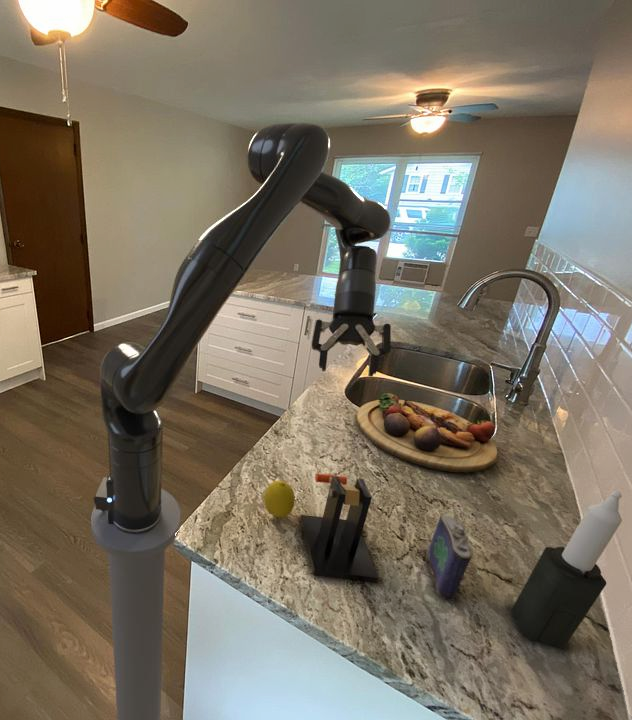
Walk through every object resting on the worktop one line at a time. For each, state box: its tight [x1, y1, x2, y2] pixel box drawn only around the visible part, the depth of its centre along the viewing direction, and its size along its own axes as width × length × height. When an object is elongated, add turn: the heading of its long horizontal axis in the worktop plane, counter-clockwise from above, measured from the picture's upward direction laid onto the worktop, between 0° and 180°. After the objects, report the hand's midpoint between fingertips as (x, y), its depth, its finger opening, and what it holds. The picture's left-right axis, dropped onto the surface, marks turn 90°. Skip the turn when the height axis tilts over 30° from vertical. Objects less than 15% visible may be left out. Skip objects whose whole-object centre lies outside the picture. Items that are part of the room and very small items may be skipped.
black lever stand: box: [300, 476, 379, 584], centre depth 65 cm, size 12×10×14 cm
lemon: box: [263, 480, 295, 518], centre depth 73 cm, size 6×6×8 cm
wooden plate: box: [355, 392, 499, 473], centre depth 101 cm, size 32×32×8 cm
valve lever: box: [314, 473, 360, 506], centre depth 68 cm, size 12×5×2 cm, turn 173°
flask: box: [425, 514, 472, 601], centre depth 62 cm, size 9×3×11 cm, turn 162°
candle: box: [511, 491, 623, 649], centre depth 51 cm, size 5×5×25 cm
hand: (346, 373), depth 76 cm, fingers open, 8 cm apart
